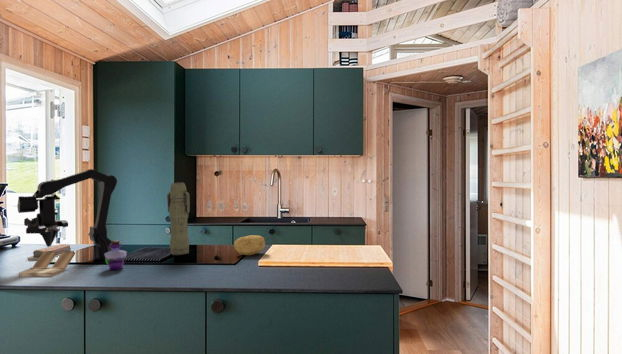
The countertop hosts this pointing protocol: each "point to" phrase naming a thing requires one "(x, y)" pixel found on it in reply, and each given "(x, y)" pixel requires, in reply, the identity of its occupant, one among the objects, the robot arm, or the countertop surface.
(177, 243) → the olive stone statue
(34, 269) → the pine floorboard strip
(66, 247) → the packaged product
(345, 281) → the countertop surface
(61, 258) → the inner oak plank
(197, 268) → the countertop surface
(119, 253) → the potion bottle
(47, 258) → the outer oak plank
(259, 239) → the potato
